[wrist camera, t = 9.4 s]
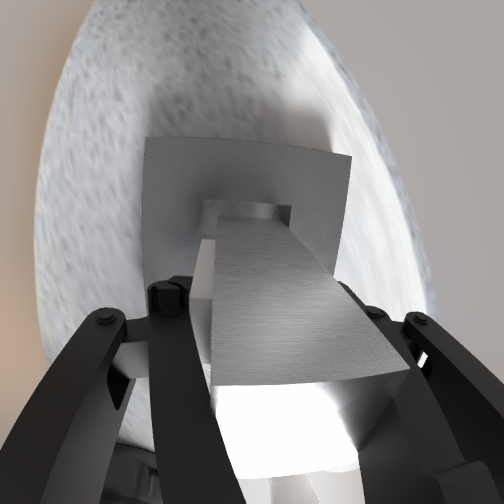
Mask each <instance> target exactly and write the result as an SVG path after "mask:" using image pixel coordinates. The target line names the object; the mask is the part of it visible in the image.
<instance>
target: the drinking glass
mask: <svg viewBox="0 0 504 504" xmlns="http://www.w3.org/2000/svg"><path fill="white" fill-rule="evenodd" d="M269 482H270V495H271V504H321V503H320V500H319V498H318V496H317V493H316V491H315V489H314V486H313V484H312V481H311V479H310V477H309V474H308V472H306V473H299V474H292V475H283V476H273V477H269Z"/></svg>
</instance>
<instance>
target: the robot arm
mask: <svg viewBox="0 0 504 504" xmlns="http://www.w3.org/2000/svg"><path fill="white" fill-rule="evenodd" d="M215 241H216V240H212V239H202V240H201V244H200V249H199V253H198V258H197V262H196V267H195V272H194V277H193V276H176V275H174V276H172V277H171V278H170V279H168V280H162V281H157V282H154V283H152V284H151V285H149V286H148V288H147V297H148V310H149V316H147V317H144V318H140V319H132V320H126V317H125V315H124V313H123V312H122V311H120V310H119V309H115V308H107V307H106V308H100V309H98V310H95V311H93V312H92V313H90V314H89V315H88V316H87V317H86V319H85V320H84V321H83V323H82V324H81V325H80V327H79V328H78V329H77V331H76V332H75V333H74V335H73V336H72V337H71V339H70V340H69V341H68V343H67V344H66V345H65V347H64V348H63V350H62V351H61V352H60V354H59V355H58V357H57V358H56V359H55V361H54V362H53V364H52V365H51V367H50V368H49V370H48V371H47V373H46V374H45V376H44V377H43V379H42V380H41V382H40V383H39V385H38V386H37V388H36V389H35V391H34V393H33V394H32V396H31V397H30V399H29V400H28V402H27V404H26V405H25V407H24V409H23V410H22V412H21V414H20V415H19V417H18V419H17V421H16V422H15V424H14V426H13V428H12V430H11V431H10V433H9V435H8V437H7V439H6V441H5V443H4V444H3V446H2V448H1V450H0V504H246V501H245V499H244V496H243V493H242V491H241V488H240V486H239V483H238V480H237V477H236V475H235V472H234V469H233V466H232V464H231V461H230V458H229V455H228V452H227V449H226V446H225V443H224V440H223V437H222V434H221V431H220V427H219V424H218V421H217V418H216V416H211V407H210V394H209V390H208V387H207V383H206V379H205V376H204V372H203V368H202V364H201V363H206V364H211V330H212V301H213V278H214V258H215ZM337 282H338V283H339V284H340V285H341V286H342V287H343V289H344V290H345V291H346V292H347V293H348V294H349V295H350V297H351V298H352V299H353V300H354V301H355V302H356V303H357V305H358V306H359V307H360V308H361V309H362V310H363V312H364V313H365V314H366V315H367V316H368V317H369V319H370V320H371V321H372V322H373V323H374V324H375V326H376V327H377V328H378V329H379V330H380V332H381V333H382V334H383V335H384V336H385V338H386V339H387V340H388V341H389V342H390V344H391V345H392V346H393V347H394V348H395V350H396V351H397V352H398V353H399V355H400V356H401V357H402V358H403V359H404V361H405V362H406V363H407V364H408V366H409V367H410V368H411V369H410V371H409V373H408V374H407V376H406V378H405V380H404V382H403V384H402V386H401V388H400V390H399V391H398V393H397V395H396V397H392V399H391V401H390V402H389V404H388V406H387V408H386V409H385V411H384V413H383V414H382V416H381V418H380V419H379V421H378V422H377V424H376V426H375V427H374V429H373V430H372V432H371V433H370V435H369V436H368V438H367V439H366V441H365V442H364V444H363V445H362V446H361V448H360V449H359V451H358V452H357V454H358V459H359V465H360V470H361V477H362V483H363V490H364V497H365V504H504V384H503V383H502V382H501V381H500V380H499V379H498V378H497V377H496V376H495V375H494V374H493V373H491V372H490V371H489V370H488V369H487V368H486V367H485V366H484V365H483V364H482V363H481V362H480V361H479V360H478V359H477V358H476V357H475V356H474V355H472V354H471V353H470V352H469V351H468V350H467V349H466V348H465V347H464V346H463V345H461V344H460V343H459V342H458V341H457V340H456V339H455V338H454V337H453V336H451V335H450V334H449V333H448V332H447V331H445V330H444V329H443V328H442V327H441V326H440V325H439V324H438V323H436V322H435V321H434V320H433V319H432V318H430V317H429V316H427V315H425V314H424V313H422V312H409V313H407V314H406V317H405V319H404V322H397V321H392V320H391V319H390V317H389V316H388V314H387V313H386V312H385V311H384V310H381V309H380V308H377V307H374V306H365V304H364V303H363V302H362V301H361V300H360V299H359V298H358V297H357V296H356V294H355V293H354V292H352V290H351V289H350V288H349V287H348V286H347V285H345V284H343V283H342V282H340V281H337ZM423 351H424V352H425V353H426V355H427V356H428V357H427V359H426V361H425V363H424V365H423V367H422V368H420V367H419V366H418V365H417V364H418V362H419V360H420V358H421V356H422V354H423ZM148 376H149V388H150V405H151V418H152V430H153V439H154V448H155V454H153V453H151V452H148V451H145V450H142V449H139V448H135V447H131V446H127V445H121V444H115V443H116V440H117V436H118V433H119V430H120V427H121V423H122V420H123V417H124V414H125V411H126V408H127V405H128V402H129V399H130V396H131V393H132V390H133V387H134V385H135V382H136V378H140V377H148Z"/></svg>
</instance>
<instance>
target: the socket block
mask: <svg viewBox="0 0 504 504" xmlns="http://www.w3.org/2000/svg"><path fill="white" fill-rule="evenodd" d="M351 160H352V156H348V155H342V154H337V153H332V152H326V151H320V150H314V149H308V148H301V147H294V146H287V145H279V144H271V143H262V142H252V141H242V140H229V139H214V138H192V137H146V140H145V153H144V170H143V197H142V242H143V269H144V286H145V300H146V311H147V316H149V310H148V297H147V288H148V286H149V285H151V284H152V283H154V282H157V281H162V280H168V279H170V278H171V277H172V276H174V275H176V276H193V277H194V272H195V267H196V262H197V258H198V253H199V249H200V244H201V240H202V239H212V240H216V225H217V215H226V216H241V217H256V218H269V219H280V220H281V221H282V222H283V223H284V224H285V225H286V226H287V227H288V228H289V229H290V230H291V231H292V233H293V234H294V235H295V236H296V237H297V238H298V239H299V240H300V241H301V242H302V243H303V244H304V245H305V246H306V248H307V249H308V250H309V251H310V252H311V253H312V254H313V255H314V256H315V257H316V258H317V260H318V261H319V262H320V263H321V264H322V265H323V266H324V267H325V268H326V269H327V271H328V272H329V273H330V274H331V275H332V276H333V275H334V270H335V265H336V259H337V254H338V249H339V243H340V238H341V232H342V226H343V220H344V213H345V207H346V200H347V193H348V185H349V178H350V169H351Z"/></svg>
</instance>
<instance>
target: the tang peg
mask: <svg viewBox="0 0 504 504" xmlns="http://www.w3.org/2000/svg"><path fill="white" fill-rule="evenodd" d="M410 369H411V368H410V367H409V366H408V364H407V363H406V362H405V361H404V359H403V358H402V357H401V356H400V355H399V353H398V352H397V351H396V350H395V348H394V347H393V346H392V345H391V344H390V342H389V341H388V340H387V339H386V338H385V336H384V335H383V334H382V333H381V332H380V330H379V329H378V328H377V327H376V326H375V324H374V323H373V322H372V321H371V320H370V319H369V317H368V316H367V315H366V314H365V313H364V312H363V310H362V309H361V308H360V307H359V306H358V305H357V303H356V302H355V301H354V300H353V299H352V298H351V297H350V295H349V294H348V293H347V292H346V291H345V290H344V289H343V287H342V286H341V285H340V284H339V283H338V282H337V281H336V280H335V278H334V277H333V276H332V275H331V274H330V273H329V272H328V271H327V269H326V268H325V267H324V266H323V265H322V264H321V263H320V262H319V261H318V260H317V258H316V257H315V256H314V255H313V254H312V253H311V252H310V251H309V250H308V249H307V248H306V246H305V245H304V244H303V243H302V242H301V241H300V240H299V239H298V238H297V237H296V236H295V235H294V234H293V233H292V231H291V230H290V229H289V228H288V227H287V226H286V225H285V224H284V223H283V222H282V221H281V220H280V219H269V218H256V217H241V216H226V215H217V225H216V241H215V258H214V278H213V301H212V330H211V381H210V407H211V416H216V418H217V421H218V424H219V427H220V431H221V434H222V437H223V440H224V443H225V446H226V449H227V452H228V455H229V458H230V461H231V464H232V466H233V469H234V472H235V475H236V477H237V479H238V478H260V477H273V476H283V475H292V474H299V473H306V472H312V471H318V470H324V469H329V468H334V467H338V466H343V465H347V464H351V463H352V462H353V461H354V459H355V458H356V457H357V455H358V454H357V452H358V451H359V449H360V448H361V446H362V445H363V444H364V442H365V441H366V439H367V438H368V436H369V435H370V433H371V432H372V430H373V429H374V427H375V426H376V424H377V422H378V421H379V419H380V418H381V416H382V414H383V413H384V411H385V409H386V408H387V406H388V404H389V402H390V401H391V399H392V397H396V395H397V393H398V391H399V390H400V388H401V386H402V384H403V382H404V380H405V378H406V376H407V374H408V373H409V371H410Z"/></svg>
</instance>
